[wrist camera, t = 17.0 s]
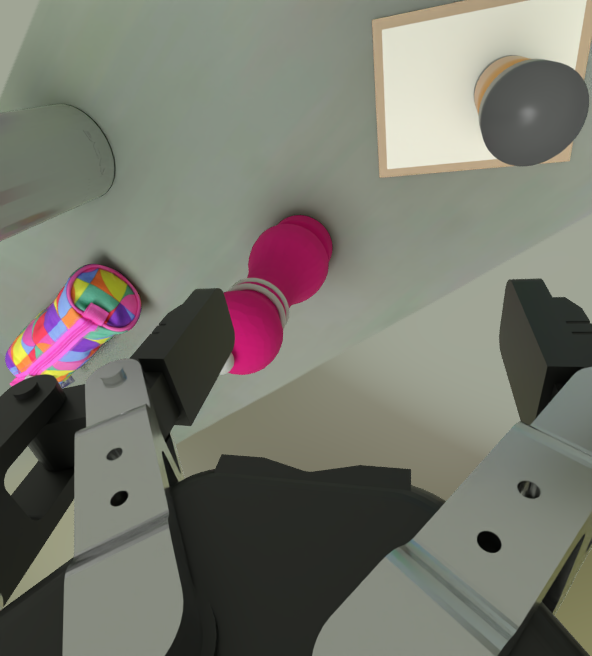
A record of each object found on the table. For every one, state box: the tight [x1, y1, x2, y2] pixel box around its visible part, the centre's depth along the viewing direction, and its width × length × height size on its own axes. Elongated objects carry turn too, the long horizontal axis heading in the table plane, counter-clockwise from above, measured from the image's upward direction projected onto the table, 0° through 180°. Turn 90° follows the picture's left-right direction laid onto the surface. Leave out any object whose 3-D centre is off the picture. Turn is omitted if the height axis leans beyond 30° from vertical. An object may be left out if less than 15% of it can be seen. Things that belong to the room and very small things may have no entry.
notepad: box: [372, 0, 592, 178], centre depth 31 cm, size 14×11×1 cm
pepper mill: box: [219, 215, 332, 375], centre depth 34 cm, size 7×7×20 cm
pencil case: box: [5, 264, 141, 388], centre depth 53 cm, size 22×9×9 cm, turn 133°
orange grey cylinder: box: [473, 55, 589, 166], centre depth 24 cm, size 4×4×14 cm
